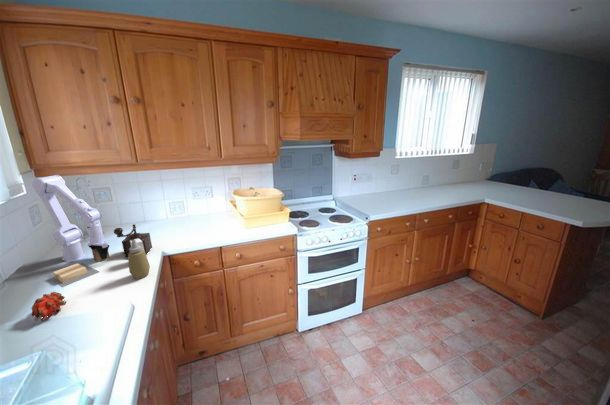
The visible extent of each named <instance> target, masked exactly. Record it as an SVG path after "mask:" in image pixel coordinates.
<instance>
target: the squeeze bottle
mask: <svg viewBox="0 0 610 405" xmlns="http://www.w3.org/2000/svg"><path fill="white" fill-rule="evenodd" d="M129 250H130V253H129V254H128V257H127V258H128V261H127V262H128V268H129V273H130V274H131V276H132V277H133V278H134V279H136V280H138V279H139V280H140V279H143V278H145V277H148V275H149V273H150V269H151V266H150V263H149V262H150V261H149V260H148V257H147V255H146V253H145V251H144V250H142V247H141V246H140V245H138V244H137V242H136V240H132V247H131V248H129Z"/></svg>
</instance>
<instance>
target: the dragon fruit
mask: <svg viewBox="0 0 610 405" xmlns="http://www.w3.org/2000/svg"><path fill="white" fill-rule="evenodd" d="M65 299H66V298H65V296H64V295H62V293H60V292H56V291H52V292H50V293H47V294H46V293H45V294H42V297H40V298H39V297H38V298H36V299H35V301H34V302H33V305H32V307H31V315H32V317H34V318H37V319H40V321H43V320H46V319H49V318H50V317H51V316H52V315H53V314H59V313H60V312H61V311H62V306H64V305H66V304H67V300H65ZM49 315H50V316H49ZM47 316H48V317H47ZM41 317H43V318H42V319H41Z"/></svg>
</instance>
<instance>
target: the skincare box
mask: <svg viewBox="0 0 610 405" xmlns="http://www.w3.org/2000/svg"><path fill="white" fill-rule="evenodd" d="M134 240H136V242H137V244H138V245H140V246H141V247H142V250H144V247H143V243H142V241H141V240H140V239H139V238H138V239H134ZM130 244H131V247H132V240H131V241H130Z"/></svg>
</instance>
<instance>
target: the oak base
mask: <svg viewBox="0 0 610 405" xmlns="http://www.w3.org/2000/svg"><path fill="white" fill-rule="evenodd" d="M80 264H81V263H78V262H77V263H74V264H72V265H69V266H66V267H64V268H61V269H58V270H55V271H53V273H52V274H54V277H55V278H56V279H57V280H59V281H61V282H62V283H65V282H68V281H70V280H73V279H75V278H78V277H80V276H83V275H85V274H88V273H87V269H86V268H85V267H84V266H82V265H80Z"/></svg>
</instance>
